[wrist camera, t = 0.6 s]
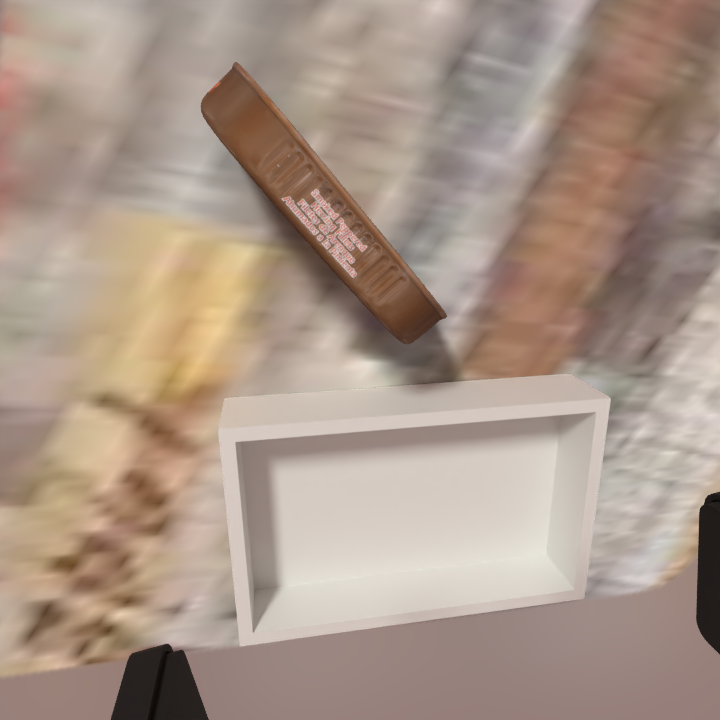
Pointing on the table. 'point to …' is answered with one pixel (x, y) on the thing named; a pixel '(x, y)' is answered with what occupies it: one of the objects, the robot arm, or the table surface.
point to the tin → (318, 205)
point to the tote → (409, 501)
